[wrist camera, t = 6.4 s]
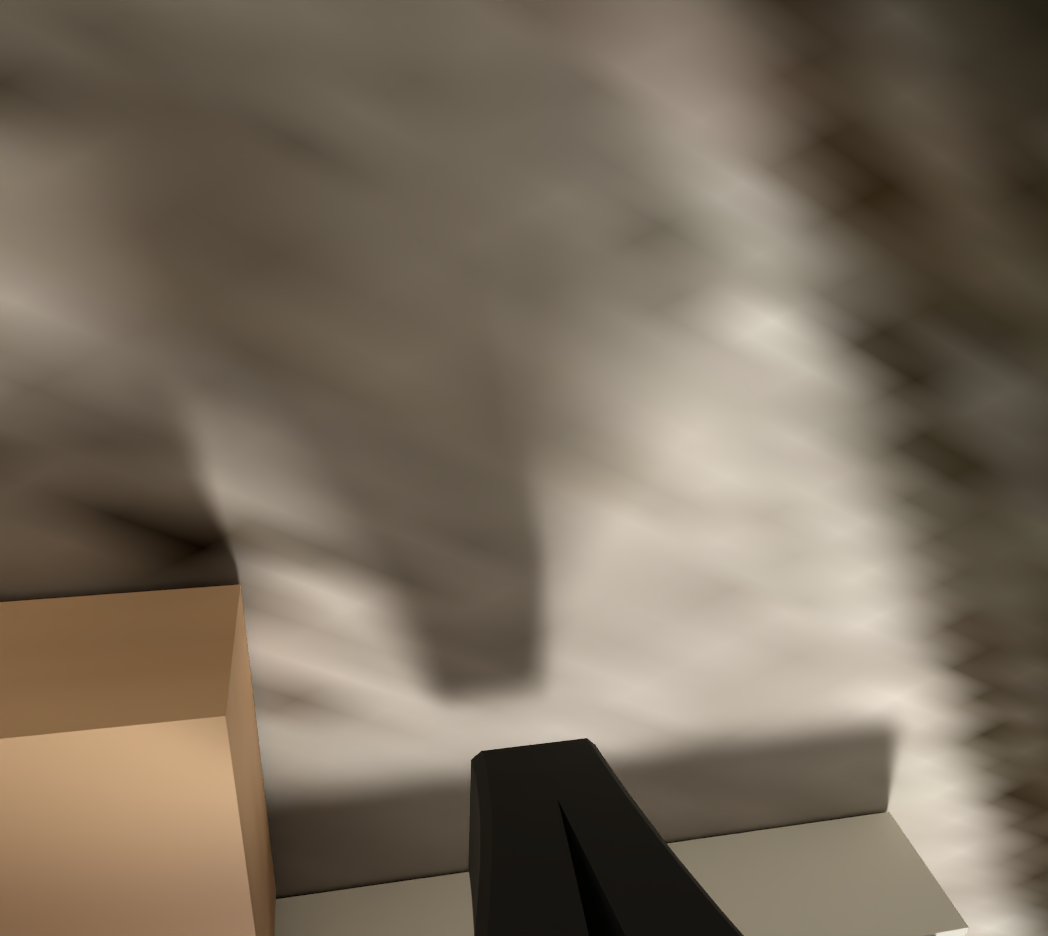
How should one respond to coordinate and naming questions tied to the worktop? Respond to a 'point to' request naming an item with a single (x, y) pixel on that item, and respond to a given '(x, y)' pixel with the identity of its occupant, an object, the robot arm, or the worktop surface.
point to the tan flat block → (131, 768)
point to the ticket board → (724, 873)
